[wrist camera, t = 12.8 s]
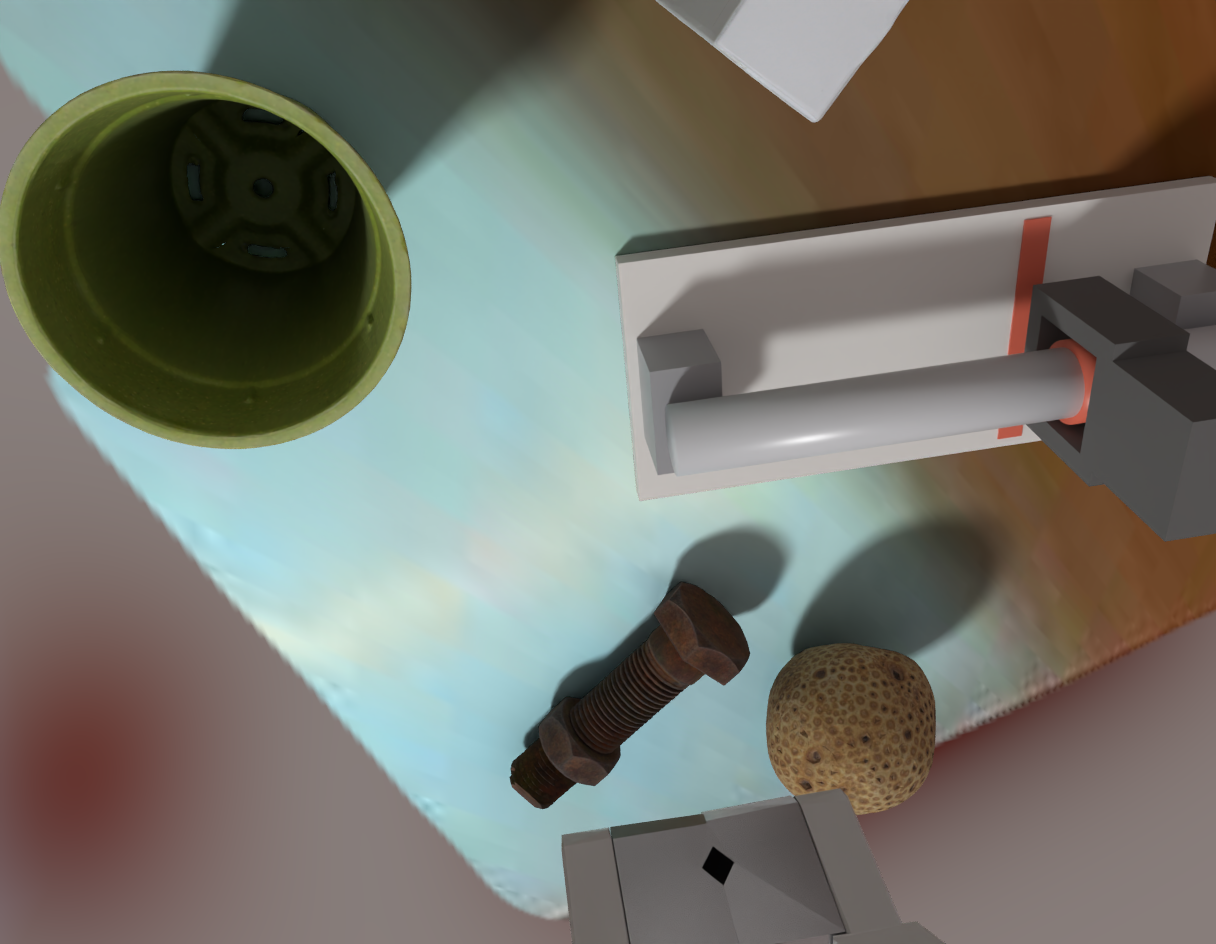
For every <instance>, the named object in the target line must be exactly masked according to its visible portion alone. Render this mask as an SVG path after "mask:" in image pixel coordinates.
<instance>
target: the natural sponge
mask: <svg viewBox="0 0 1216 944" xmlns="http://www.w3.org/2000/svg"><path fill="white" fill-rule="evenodd" d="M935 714H936V710H935V700H934V695H933V692H932V689H931V686H930V684H929V682H928V679H927V678H926V676H925V674H924V672H923V671H922V669H921V668H920V667H919V666H918V664H917V663H916V662H915V661H914V660H912V659H910V658H909V657H907V656H905V655H902V654H900V653H898V652H895V651H890V650H886V649H880V648H874V647H868V646H862V645H858V644H852V643H837V644H830V645H822V646H817V647H811V648H808V649H805V650H804V651H802V652H800V653H799V654H797V655H795V656H794V657H793V658H792V659H791V660H790V661H789V662H788V663H787V664H786V665H785V666H784V667H783V668H782V670H781V671H780V672H779V674H778V675H777V677H776V679H775V681H774V683H773V686H772V688H771V690H770V694H769V699H768V707H767V719H766V735H767V747H768V754H769V758H770V761H771V764H772V766H773V769H774V771H775V773H776V775H777V777H778V778H779V779H780V781H781V782H782V784H783V785H784V786H785V787H786V788H787V789H788V790H789V791H790V792H791V793H792V794H793V795H795V796H798V795H804V794H809V793H815V792H821V791H827V790H832V789H839V788H840V789H841V790H842V791H843V792H844V793H845V794H846V795H847V796H848V798H849V800H850V803H851V805H852V807H853V810H854V812H855V814H856V815H860V814H867V813H875V812H880V811H884V810H887V809H889V808H892V807H894V806H897V805H898V804H900V803H902V802H904V801H905V800H907V799H908V798H909V797H910V796H912V795H913V794H914V793H915V792H916V791H917V790H918V789H919V788H920V787H921V785H922V784H923V782H924V781H925V779H926V777H927V775H928V772H929V770H930V768H931V765H932V761H933V755H934V747H935V730H936V716H935Z"/></svg>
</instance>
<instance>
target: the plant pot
mask: <svg viewBox="0 0 1216 944" xmlns="http://www.w3.org/2000/svg"><path fill="white" fill-rule="evenodd" d="M251 108H256V109H263V110H266V111H268V112H271V113H273V114H275V115H277V116H279V117H281V118H284V120H283V122H282V123H281V124H279V125H276V124H271V123H266V122H246V121H244V120H243V114H244V112H245V111H246V110H247V109H251ZM301 129H302V130H304V131H305V132H303V133H302V134H301V135H298V133H299V131H301ZM194 134H195V135H196V137H197V138H196V137H195V135H194ZM296 136H298V137H296ZM198 139H199V140H198ZM189 163H192V164H195V165H197V166H198V165H200V172H199V183H200V192H201V195H202V197H203V201H199V200H192V199H191V196H190V194H189V189H188V178H187V165H188V164H189ZM334 170H335V172H336V175H335V184H336V185H337V192H338V195H337V197H338V201H337V207H336V209H335V210H334V211H332V210H330V209H329V208H328V200H329V184H328V177H327V175H328V174H332V173H334ZM259 179H267V180H268V181H269V182H271V184H272V186H273V193H272V194H271V195H269V196H268V197H261V196H259V195H257V194H256V193H255V191H254V188H253V185H254V183H255V181H257V180H259ZM323 228H324V229H323ZM225 242H226V243H225ZM223 243H225V244H224V245H222V244H223ZM252 244H254V245H259V246H265V247H273V248H277V249H280V248H285V249H284V250H285V251H286V252H287V255H286V256H285V257H274V258H268V257H260V256H257V255H251V254H250V253H248V250H247V249H248V246H249V245H252ZM218 247H219V248H218ZM286 247H287V248H286ZM288 247H289V248H288ZM0 264H1V271H2V275H3V278H4V282H5V286H6V290H7V293H8V296H9V299H10V302H11V304H12V307H13V309H14V311H15V313H16V315H17V317H18V319H19V321H20V323H21V325H22V327H23V328H24V330H25V332H26V334H27V335H28V337H29V338H30V340H31V341H32V343H33V344H34V346H35V347H36V349H37V350H38V351H39V353H40V354H41V355H42V356H43V358H44V359H45V360H46V361H47V363H48V364H49V365H50V366H51V367H52V368H53V369H54V370H55V371H56V372H57V373H58V374H59V375H60V376H61V377H62V378H63V379H64V380H65V381H67V382H68V383H69V384H70V385H71V386H72V387H73V388H74V389H76V390H77V391H78V392H79V393H80V394H81V395H83V396H84V397H85V398H87V399H88V400H89V401H91V402H92V403H93V404H95V405H96V406H97V407H99V408H100V409H102V410H104V411H105V412H107V413H108V414H110V415H112V416H114V417H115V418H117V419H119V420H121V421H123V422H125V423H127V424H129V425H131V426H133V427H136V428H138V429H140V430H142V431H144V432H147V433H149V434H152V435H155V436H158V437H161V438H164V439H167V440H170V441H174V442H179V443H184V444H188V445H193V446H199V447H208V448H221V449H246V448H257V447H264V446H271V445H276V444H281V443H284V442H288V441H292V440H295V439H298V438H301V437H304V436H307V435H309V434H311V433H314V432H316V431H318V430H320V429H322V428H324V427H326V426H328V425H330V424H331V423H333V422H335V421H336V420H338V419H339V418H341V417H342V416H344V415H345V414H347V413H348V412H349V411H351V410H352V409H353V408H354V407H355V406H357V405H358V404H359V403H360V402H361V401H362V400H363V399H364V398H365V397H366V396H367V395H368V394H369V393H370V392H371V391H372V390H373V389H374V388H375V387H376V385H377V384H378V382H379V381H380V380H381V378H382V377H383V376H384V374H385V373H386V371H387V370H388V368H389V366H390V365H391V363H392V361H393V359H394V358H395V356H396V354H397V351H398V349H399V347H400V344H401V342H402V340H403V336H404V333H405V329H406V325H407V321H408V316H409V311H410V301H411V269H410V261H409V256H408V250H407V246H406V242H405V238H404V234H403V231H402V228H401V225H400V222H399V219H398V217H397V215H396V212H395V210H394V208H393V206H392V203H391V201H390V199H389V197H388V195H387V194H386V192H385V190H384V188H383V186H382V185H381V183H380V182H379V180H378V179H377V177H376V175H375V174H374V173H373V171H372V170H371V169H370V167H369V166H368V164H367V163H366V162H365V161H364V160H363V158H362V157H361V156H360V155H359V154H358V153H357V151H356V150H355V149H354V148H353V147H352V146H351V145H350V144H349V143H348V142H347V141H346V140H345V139H344V138H343V137H342V136H341V135H340V134H338V133H337V132H336V131H335V130H334V129H333V128H332V127H331V126H330V125H329V124H328V123H327V122H326V121H325V120H324V119H322V118H321V117H320V116H319V115H318V114H317V113H315V112H314V111H313V110H311V109H310V108H308V107H307V106H305V105H303V104H301V103H300V102H298V101H295V100H293V99H291V98H288V97H285V96H283V95H279V94H277V93H275V92H273V91H271V90H269V89H266V88H263V87H261V86H258V85H255V84H252V83H249V82H246V81H243V80H239V79H235V78H231V77H227V76H222V75H217V74H212V73H203V72H194V71H159V72H150V73H143V74H137V75H132V76H128V77H124V78H120V79H117V80H114V81H111V82H108V83H105V84H102V85H100V86H97V87H95V88H92V89H90V90H88V91H86V92H84V93H82V94H80V95H78V96H77V97H75V98H74V99H72V100H70V101H69V102H67V103H66V104H65V105H63V106H62V107H61V108H59V109H58V110H57V111H56V112H54V113H53V114H52V115H51V116H50V117H49V118H48V119H47V120H46V121H45V122H44V123H42V124H41V125H40V127H39V128H38V129H37V130H36V131H35V132H34V133H33V135H32V136H31V137H30V138H29V140H28V141H27V142H26V144H25V145H24V147H23V148H22V150H21V152H20V153H19V155H18V157H17V158H16V161H15V162H14V164H13V167H12V169H11V171H10V174H9V177H8V179H7V182H6V185H5V189H4V192H3V196H2V200H1V205H0Z"/></svg>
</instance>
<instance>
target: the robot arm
mask: <svg viewBox="0 0 1216 944" xmlns="http://www.w3.org/2000/svg"><path fill="white" fill-rule="evenodd" d="M610 831H611V834H610ZM562 858H563V867H564V876H565V885H566V893H567V902H568V911H569V920H570V928H571V937H572V944H946V943H944V942H943V941H942V940H940V939H939V938H938V937H936V936H935V935H934V934H933V933H931V932H930V931H929V930H927V929H926V928H925V927H923V926H922V925H921V924H919V923H918V922H910V923H902V921H901V919H900V916H899V914H898V912H897V909H896V907H895V905H894V902H893V901H892V898H891V895H890V894H889V891H888V889H887V886H886V884H885V882H884V880H883V877H882V875H881V872H880V870H879V868H878V865H877V863H876V861H875V858H874V856H873V854H872V852H871V849H870V847H869V844H868V842H867V840H866V838H865V835H864V833H863V831H862V828H861V826H860V824H859V821H858V819H857V817H856V814H855V812H854V810H853V807H852V805H851V803H850V800H849V798H848V796H847V795H846V794H845V793H844V792H843V791H842V790H841V789H840V788H839V789H832V790H827V791H821V792H815V793H809V794H804V795H798V796H794V797H792V796H786V797H780V798H775V799H770V800H764V801H759V802H753V803H748V804H743V805H737V806H732V807H726V808H721V809H716V810H710V811H705V812H701V814H698V815H691V816H684V817H677V818H670V819H663V820H656V821H649V822H642V823H635V824H628V825H621V826H614V827H610V830H609V827H608V828H602V829H596V830H590V831H583V832H577V833H571V834H564V835H562Z"/></svg>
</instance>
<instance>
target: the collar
mask: <svg viewBox="0 0 1216 944" xmlns="http://www.w3.org/2000/svg"><path fill="white" fill-rule="evenodd" d="M1189 337H1190V333H1188V332H1187V331H1185V330H1184V329H1182V328H1180V327H1179V326H1177V325H1176V324H1174V323H1173V322H1171V321H1169V320H1168V319H1166V318H1165V317H1163V316H1162V315H1160V314H1159V313H1157V312H1155V311H1154V310H1152V309H1151V308H1149V307H1148V306H1146V305H1144V304H1143V303H1141V302H1140V301H1138V300H1137V299H1135V298H1134V297H1132V296H1130V295H1129V294H1127V293H1126V292H1124V291H1123V290H1121V289H1119V288H1118V287H1116V286H1115V285H1113V284H1112V283H1110V282H1109V281H1107V280H1105V279H1104V278H1102V277H1101V276H1094V277H1086V278H1079V279H1072V280H1065V281H1058V282H1051V283H1044V284H1037V285H1033V290H1032V298H1031V305H1030V313H1029V320H1028V328H1027V335H1026V343H1025V350H1024V353H1025V352H1032V351H1039V350H1046V349H1049V348H1050V347H1051V346H1052V345H1053V344H1054V343H1055V342H1056V341H1059V340H1065V339H1073V340H1074V341H1076V342H1077V343H1078V344H1080V345H1081V346H1082V347H1084V348H1085V349H1086V350H1088V351H1089V352H1090V353H1091V354H1093V355H1094V356H1095V357H1097V360H1096V365H1095V371H1094V377H1093V382H1092V388H1091V394H1090V400H1089V405H1088V411H1087V417H1086V423H1080V424H1073V425H1068V424H1065V423H1063V422H1061V421H1060V420H1052V421H1045V422H1039V423H1032V424H1026V425H1027V426H1028V427H1029V428H1030V429H1031V430H1032V431H1033V432H1034V433H1035V434H1036V435H1037V436H1038V437H1039V438H1040V439H1041V440H1042V441H1043V442H1044V443H1045V444H1046V445H1047V446H1048V447H1049V448H1050V449H1051V450H1052V451H1053V452H1054V453H1055V454H1056V455H1058V456H1059V457H1060V458H1061V459H1062V460H1063V461H1064V462H1065V463H1066V464H1067V465H1068V466H1069V467H1070V468H1071V469H1072V470H1073V471H1074V472H1075V473H1076V474H1077V475H1078V476H1079V477H1080V478H1081V479H1082V480H1083V481H1084V482H1085V483H1086V484H1087V485H1088V486H1096V485H1102V484H1105V485H1106V486H1107V487H1108V488H1109V489H1110V490H1111V491H1112V492H1113V493H1114V494H1115V495H1116V496H1118V497H1119V498H1120V499H1121V500H1122V501H1123V502H1124V503H1125V504H1126V505H1127V506H1128V507H1129V508H1130V509H1131V510H1132V511H1133V512H1134V513H1135V514H1136V515H1137V516H1139V517H1140V518H1141V519H1142V520H1143V521H1144V522H1145V523H1146V524H1147V525H1148V526H1149V527H1150V528H1151V529H1152V530H1153V531H1154V532H1155V533H1156V534H1157V535H1158V536H1160V537H1161V538H1162V539H1163V540H1164V541H1171V540H1177V539H1183V538H1190V537H1196V536H1202V535H1208V534H1215V533H1216V370H1215V369H1214V368H1212V367H1211V366H1209V365H1208V364H1206V363H1205V362H1203V361H1202V360H1200V359H1199V358H1197V357H1196V356H1194V355H1193V354H1191V353H1190V352H1188V351H1187V346H1188V341H1189Z"/></svg>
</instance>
